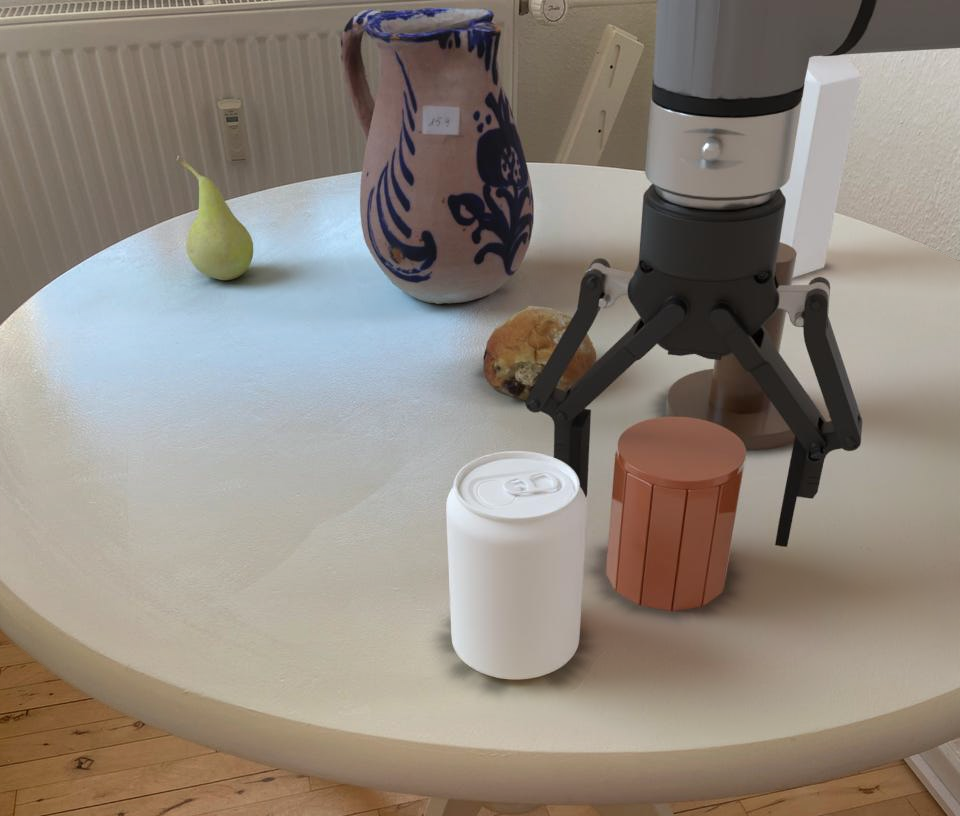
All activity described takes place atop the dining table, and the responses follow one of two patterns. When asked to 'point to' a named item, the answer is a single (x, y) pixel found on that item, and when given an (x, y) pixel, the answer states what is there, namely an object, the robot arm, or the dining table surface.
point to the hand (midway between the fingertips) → (677, 519)
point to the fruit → (217, 235)
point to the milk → (819, 158)
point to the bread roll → (531, 351)
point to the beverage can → (516, 563)
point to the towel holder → (738, 387)
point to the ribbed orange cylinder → (673, 511)
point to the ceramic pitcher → (439, 153)
